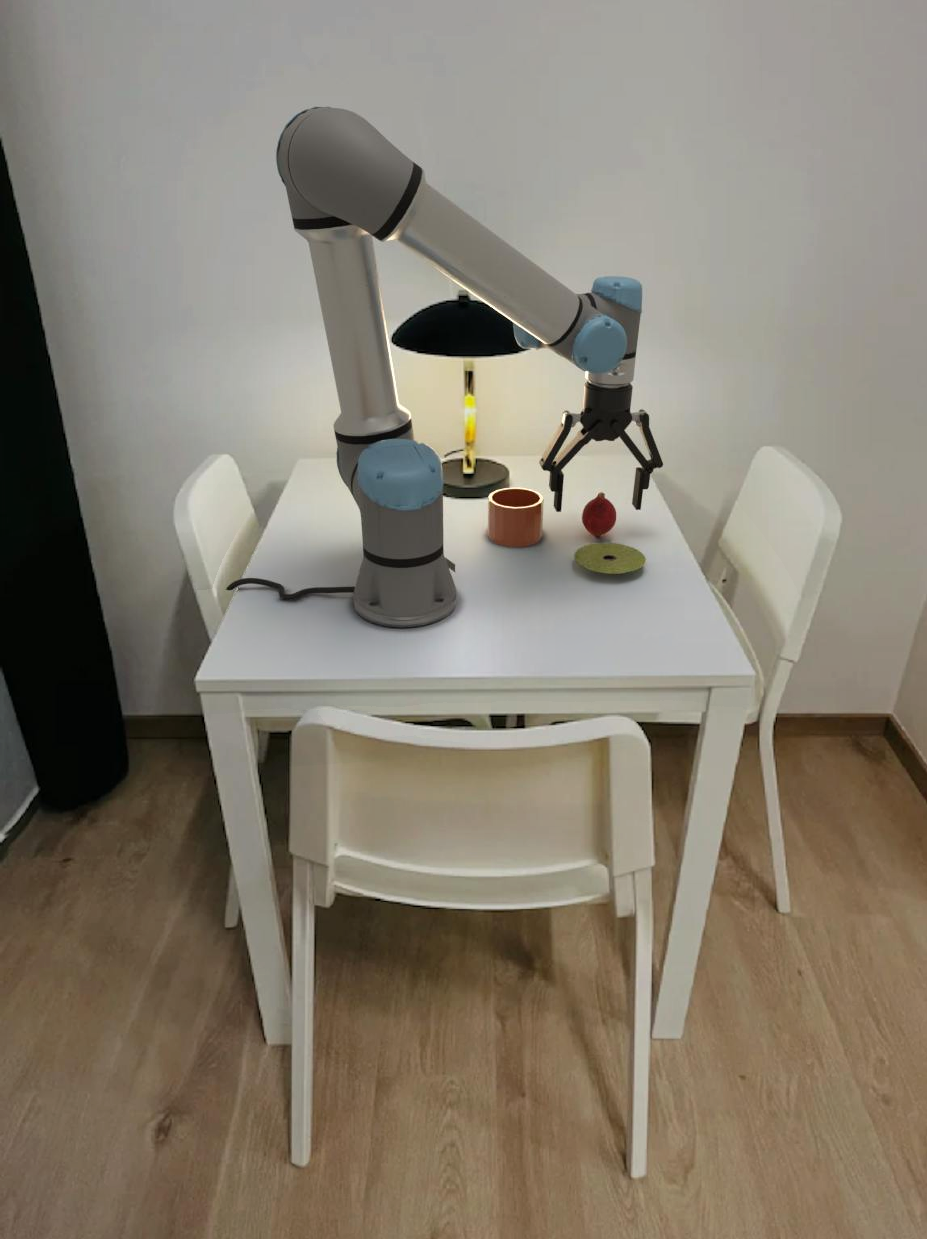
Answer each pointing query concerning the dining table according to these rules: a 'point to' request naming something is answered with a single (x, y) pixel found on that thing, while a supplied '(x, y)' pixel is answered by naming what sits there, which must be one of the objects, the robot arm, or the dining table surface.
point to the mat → (609, 558)
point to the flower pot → (515, 517)
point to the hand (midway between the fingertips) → (596, 508)
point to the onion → (599, 515)
